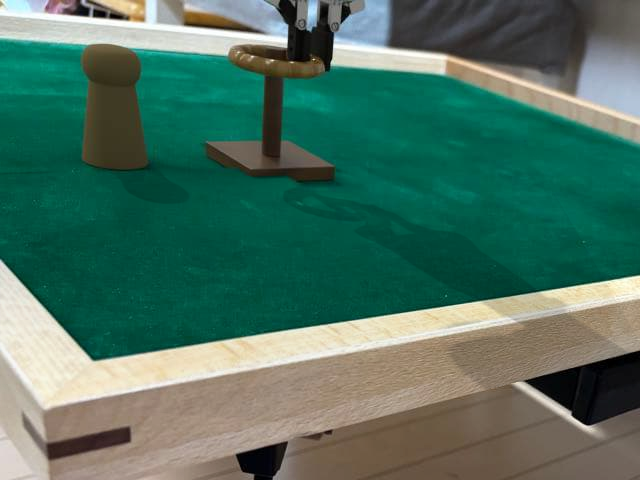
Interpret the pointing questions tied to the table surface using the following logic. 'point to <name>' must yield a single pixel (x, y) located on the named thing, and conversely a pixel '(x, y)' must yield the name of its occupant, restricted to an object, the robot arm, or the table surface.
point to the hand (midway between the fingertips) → (309, 66)
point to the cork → (112, 108)
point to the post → (271, 141)
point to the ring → (273, 63)
